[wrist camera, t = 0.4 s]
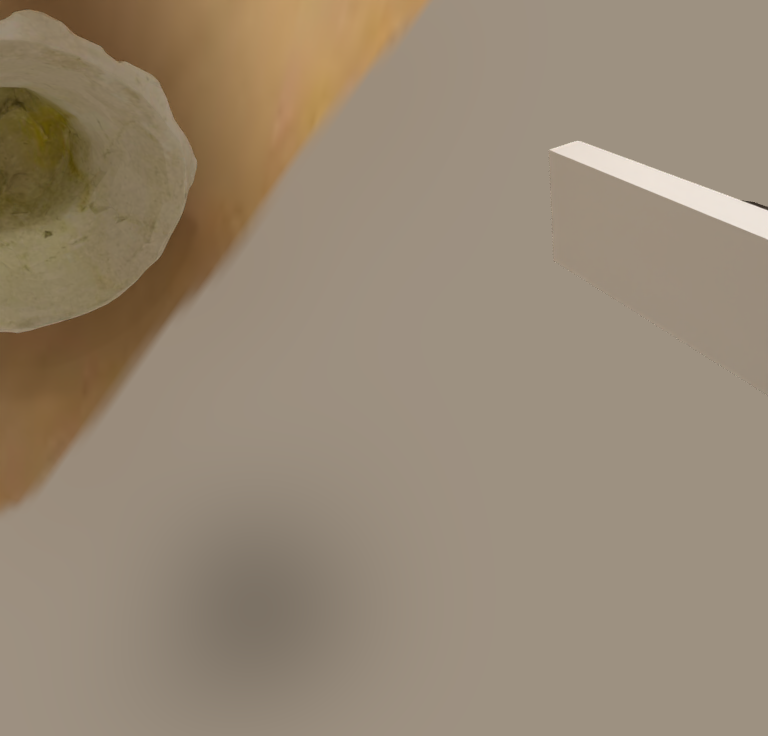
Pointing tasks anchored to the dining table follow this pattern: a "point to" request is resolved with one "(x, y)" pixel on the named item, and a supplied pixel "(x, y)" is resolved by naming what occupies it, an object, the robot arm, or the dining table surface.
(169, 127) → the bowl
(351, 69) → the dining table surface
